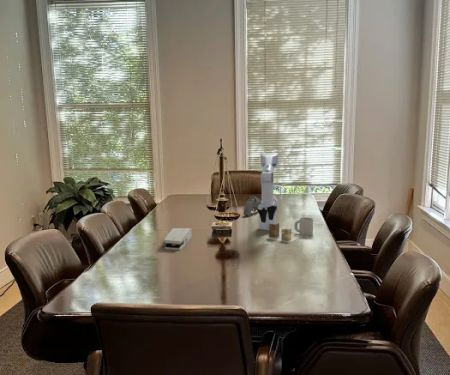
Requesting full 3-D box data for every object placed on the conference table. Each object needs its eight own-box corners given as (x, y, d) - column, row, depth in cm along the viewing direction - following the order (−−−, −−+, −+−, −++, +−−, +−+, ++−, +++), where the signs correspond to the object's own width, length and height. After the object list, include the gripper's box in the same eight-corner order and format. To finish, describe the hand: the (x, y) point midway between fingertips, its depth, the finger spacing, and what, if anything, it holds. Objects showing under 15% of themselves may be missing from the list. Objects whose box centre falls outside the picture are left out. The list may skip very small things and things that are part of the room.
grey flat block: (181, 251, 208) (180, 241, 207) (159, 250, 209) (159, 240, 208) (192, 237, 234) (191, 228, 233) (172, 237, 235) (172, 228, 234)
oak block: (281, 240, 222) (281, 228, 221) (284, 238, 225) (284, 227, 225) (288, 240, 220) (288, 229, 219) (291, 239, 224) (291, 227, 223)
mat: (259, 238, 228) (259, 237, 228) (274, 232, 241) (274, 231, 241) (289, 243, 217) (289, 242, 217) (303, 236, 230) (303, 235, 230)
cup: (312, 236, 230) (312, 220, 229) (293, 235, 232) (294, 219, 231) (312, 233, 237) (313, 217, 236) (294, 232, 239) (294, 216, 238)
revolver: (262, 223, 298) (266, 203, 302) (248, 214, 280) (253, 192, 284) (255, 222, 300) (260, 202, 304) (241, 213, 282) (246, 192, 286)
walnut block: (268, 237, 228) (268, 223, 227) (272, 235, 231) (272, 222, 230) (275, 238, 226) (275, 224, 225) (279, 236, 229) (279, 223, 228)
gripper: (266, 197, 211) (266, 224, 213) (281, 193, 223) (281, 219, 225) (254, 196, 216) (254, 222, 218) (269, 192, 227) (269, 217, 229)
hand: (267, 221), depth 221 cm, fingers open, 7 cm apart
